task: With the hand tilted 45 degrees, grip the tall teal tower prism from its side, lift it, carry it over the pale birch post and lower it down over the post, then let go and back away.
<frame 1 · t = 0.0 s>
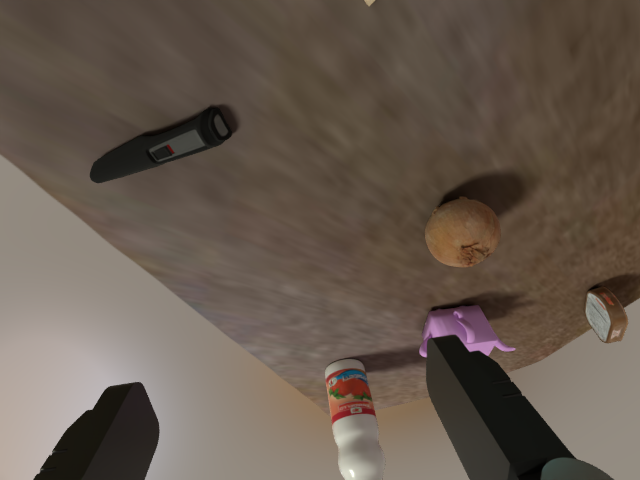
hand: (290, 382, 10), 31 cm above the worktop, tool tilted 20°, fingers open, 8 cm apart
onion: (446, 209, 49), on the worktop
fruit juice: (343, 366, 79), on the worktop
teapot: (449, 316, 70), on the worktop
electric trimmer: (165, 143, 37), on the worktop
tin: (588, 298, 72), on the worktop
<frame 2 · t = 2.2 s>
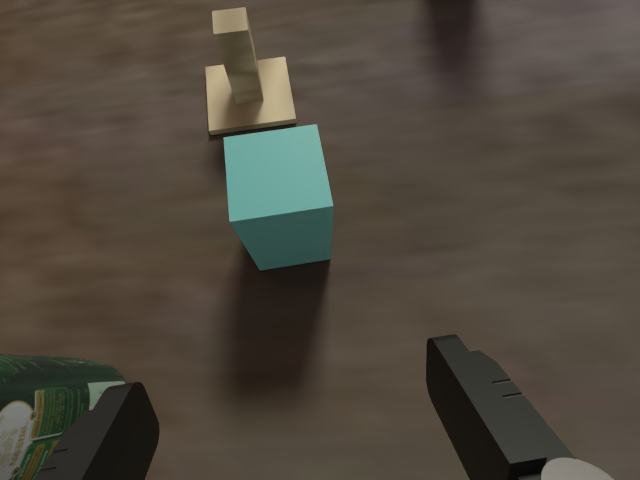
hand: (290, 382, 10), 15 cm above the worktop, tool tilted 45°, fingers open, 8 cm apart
teal tower prism: (290, 232, 27), on the worktop
coffee jar: (62, 420, 23), on the worktop
post: (250, 96, 33), on the worktop
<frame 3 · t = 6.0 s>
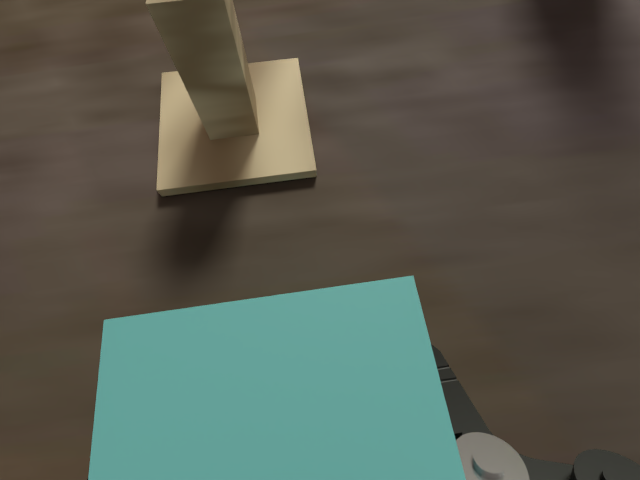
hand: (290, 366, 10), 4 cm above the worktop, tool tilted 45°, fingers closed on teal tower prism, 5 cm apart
teal tower prism: (305, 416, 13), on the worktop, touching gripper
post: (236, 125, 19), on the worktop
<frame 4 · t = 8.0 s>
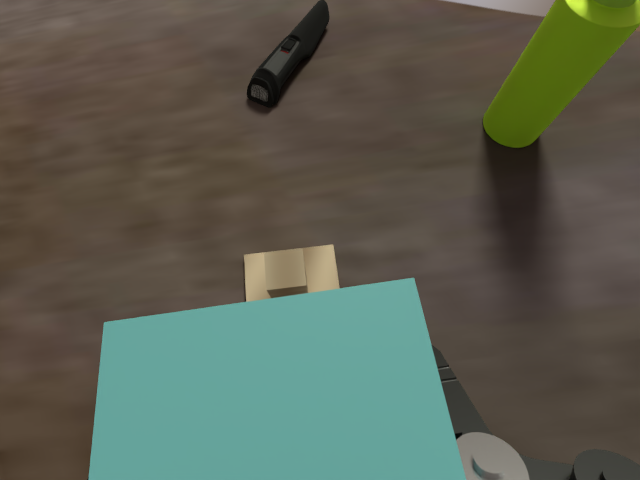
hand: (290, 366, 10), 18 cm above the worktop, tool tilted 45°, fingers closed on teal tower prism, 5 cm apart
soap dispenser: (512, 130, 36), on the worktop
teal tower prism: (305, 417, 13), point 14 cm above the worktop, touching gripper
electric trimmer: (291, 64, 40), on the worktop
post: (293, 294, 29), on the worktop
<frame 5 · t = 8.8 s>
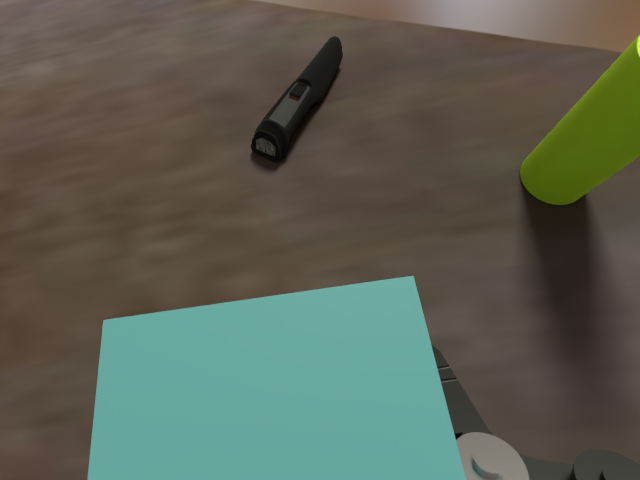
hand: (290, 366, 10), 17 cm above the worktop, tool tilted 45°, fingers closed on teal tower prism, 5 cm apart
soap dispenser: (553, 183, 32), on the worktop
teal tower prism: (305, 416, 13), point 13 cm above the worktop, touching gripper
electric trimmer: (300, 108, 36), on the worktop
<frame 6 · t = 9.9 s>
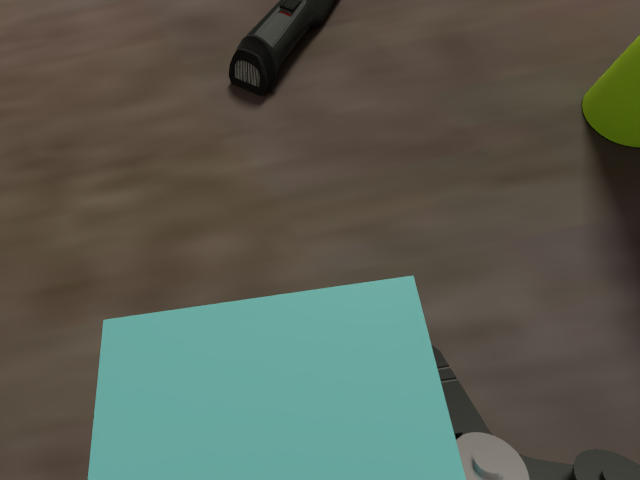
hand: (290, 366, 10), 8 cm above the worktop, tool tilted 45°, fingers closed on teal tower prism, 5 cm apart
soap dispenser: (627, 121, 24), on the worktop
teal tower prism: (305, 416, 13), point 4 cm above the worktop, touching gripper
electric trimmer: (294, 34, 28), on the worktop
when the fingers open (6 cm above the worktop, at t = 10.8 s): teal tower prism drops 1 cm, resting on post.
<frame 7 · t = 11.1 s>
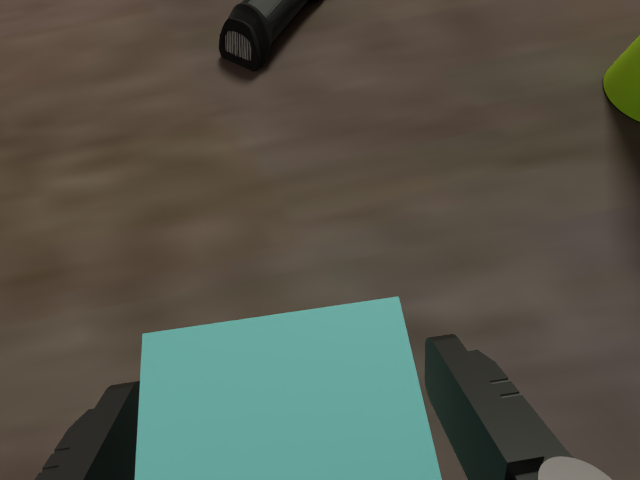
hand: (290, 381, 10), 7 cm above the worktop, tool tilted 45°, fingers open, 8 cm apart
teal tower prism: (307, 415, 15), point 1 cm above the worktop, touching post
electric trimmer: (292, 9, 26), on the worktop
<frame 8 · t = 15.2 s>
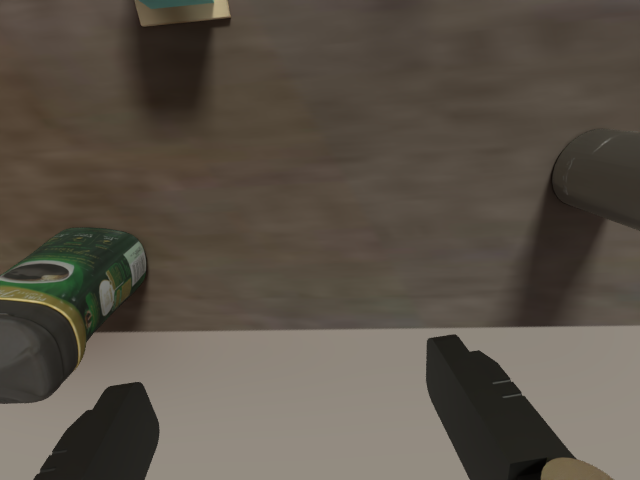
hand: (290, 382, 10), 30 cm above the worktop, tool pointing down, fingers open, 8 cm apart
coffee jar: (107, 256, 39), on the worktop
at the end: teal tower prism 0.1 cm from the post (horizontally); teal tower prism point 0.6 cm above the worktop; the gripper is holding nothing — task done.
